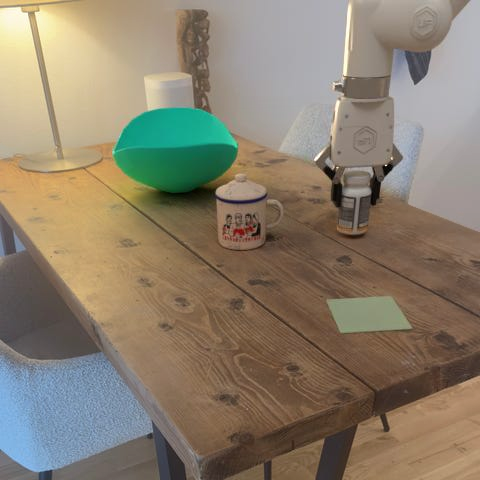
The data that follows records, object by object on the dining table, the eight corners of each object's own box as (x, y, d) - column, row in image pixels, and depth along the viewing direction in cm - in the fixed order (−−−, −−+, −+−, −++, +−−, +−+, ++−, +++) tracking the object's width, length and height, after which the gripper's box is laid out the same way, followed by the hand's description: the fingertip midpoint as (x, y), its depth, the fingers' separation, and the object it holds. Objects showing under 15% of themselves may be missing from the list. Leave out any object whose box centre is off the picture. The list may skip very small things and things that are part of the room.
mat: (391, 296, 85) (391, 295, 85) (412, 329, 77) (412, 328, 77) (325, 300, 84) (325, 299, 84) (340, 333, 76) (340, 332, 76)
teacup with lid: (217, 252, 100) (213, 183, 92) (217, 233, 107) (214, 168, 99) (284, 250, 100) (287, 181, 92) (280, 231, 107) (281, 166, 99)
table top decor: (248, 213, 115) (248, 142, 107) (112, 221, 113) (100, 149, 105) (231, 162, 146) (229, 104, 138) (123, 168, 144) (115, 109, 136)
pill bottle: (361, 224, 107) (367, 168, 101) (371, 234, 103) (378, 176, 96) (332, 226, 106) (336, 170, 100) (341, 237, 102) (346, 179, 96)
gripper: (316, 94, 87) (310, 213, 98) (426, 89, 88) (407, 208, 99) (308, 87, 93) (303, 200, 104) (411, 82, 93) (395, 195, 105)
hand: (354, 203), depth 101 cm, fingers closed on pill bottle, 5 cm apart
